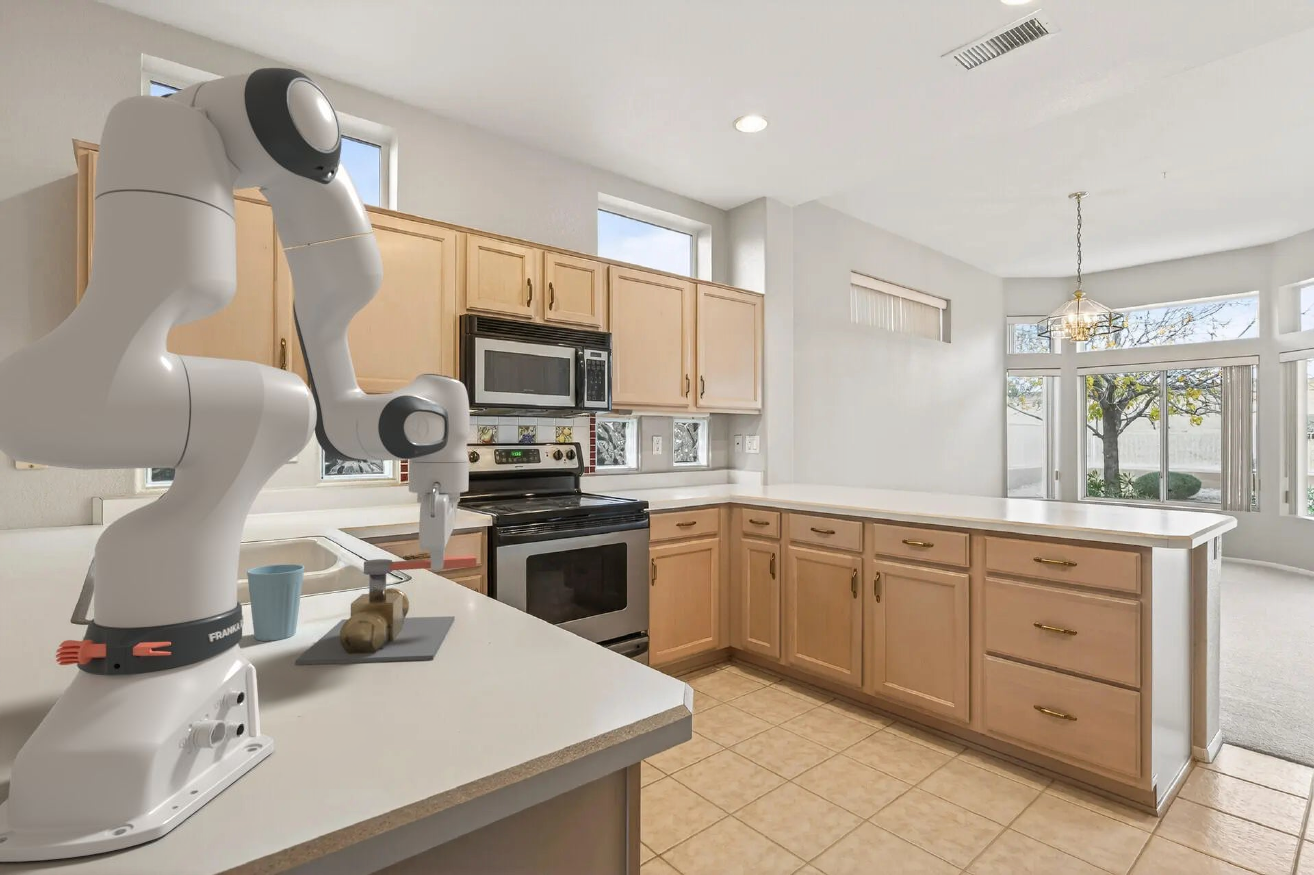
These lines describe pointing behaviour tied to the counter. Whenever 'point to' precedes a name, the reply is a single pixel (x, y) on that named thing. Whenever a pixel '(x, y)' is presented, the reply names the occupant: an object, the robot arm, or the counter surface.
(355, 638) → the valve body
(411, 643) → the mat
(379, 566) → the lever
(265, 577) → the cup
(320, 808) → the counter surface
